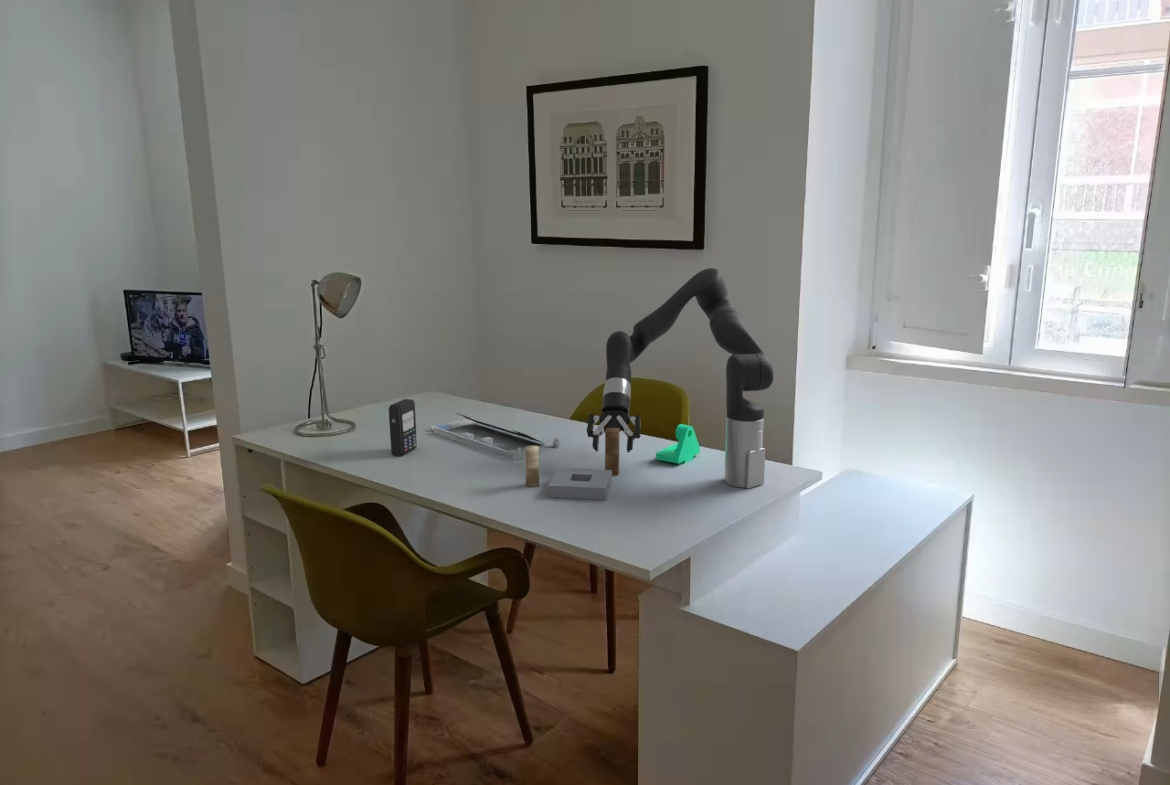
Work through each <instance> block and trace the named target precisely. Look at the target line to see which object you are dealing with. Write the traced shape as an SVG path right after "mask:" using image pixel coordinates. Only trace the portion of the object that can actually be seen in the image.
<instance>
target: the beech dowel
mask: <svg viewBox="0 0 1170 785" xmlns="http://www.w3.org/2000/svg"><path fill="white" fill-rule="evenodd" d="M539 448H540V447H539V446H538V445H534V444H533V445H531V444H530V445H527V446H525V447H524V456H525V457H524V459H525V460H524V461H525V486H526V487H527V486H528V487H529V488H537V487H539V486H540V460H539V457H540V452H539V450H540V449H539Z"/></svg>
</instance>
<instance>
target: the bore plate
mask: <svg viewBox="0 0 1170 785" xmlns="http://www.w3.org/2000/svg"><path fill="white" fill-rule="evenodd" d="M612 482H613V475H612V470H605V469H596V468H594V469H593V468H575V467H574V468H573V467H571V468H570V467H558V468H557V469H556V471H555V473H554V475H553V476H552V479H551V480H550V482H549V483H548V487H547V490H548V491H547V493H548V498H554V497H560V498H561V499H575V500H576V499H579V500H580V499H581V500H600V501H605V500H606V499H607V496H608V494H609V490H610V487H611V485H612ZM560 498H559V499H560Z"/></svg>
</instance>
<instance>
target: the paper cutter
mask: <svg viewBox="0 0 1170 785" xmlns="http://www.w3.org/2000/svg"><path fill="white" fill-rule="evenodd" d="M455 414H456V415H457V416H461V417H463V418H459V419H454V420H450V421H448V422H446V423H445V424H444V423H443V424H439V425H435V426H433V425H429V426H428V427H429V429H431V431H433V432H434V433H435V435H437V436H439V437H444V438H446V439H449V440H453V441H454V440H455V442H457V441H458V443H460V442H461V444H463V443H464V445H466V444H467V445H466V446H469V445H471V446H470V447H472V446H473V447H472V448H475V447H476V448H475V449H478V448H479V449H478V450H481V449H482V451H484V450H485V451H484V452H487V451H488V453H490V452H491V453H490V454H492V453H494V454H493V455H495V454H497V455H496V456H498V455H499V456H498V457H501V456H503V457H502V458H504V457H505V459H507V458H508V459H507V460H510V459H511V461H513V460H514V461H517V460H521V459H520V458H522V459H523V451H522V449H521V446H520V447H518V448H517V450H512V449H511V450H506V449H503V448H501V447H497V446H495V445H494V438H493V437H490V436H486V437H482V438H478V440H476V439H475V434H474V433H471V432H468V431H466V432H465V431H464V432H462V433H461V432H460V433H459V434H458V433H455V432H452V431H450V430H453V429H457V428H461V427H464V426H463V425H466V426H469V425H468V424H470V425H472V424H471V423H475V422H476V423H475V424H479V425H483V426H486V427H490V428H493V429H497V430H499V431H503V432H505V433H509V434H512V435H516V436H519V437H522V438H525V439H528V440H532V441H535V442H538V443H542V444H546V443H545V442H543V441H542V440H541V441H540V440H538V439H537V438H535V437H532V436H530V435H528V434H526V433H523V432H520V431H516V430H514V429H512V430H509V429H506V428H502V427H499V426H496V425H492V424H489V423H486V422H482V421H479V420H476V419H475V418H474V417H470V416H467V415H463V414H460V413H458V412H455ZM460 426H461V427H460ZM456 427H457V428H456ZM452 428H453V429H452ZM447 429H448V430H447ZM471 438H473V439H471ZM553 440H554V441H552V447H553V448H557V449H558V448H561V442H560V439H559V437H557V436H556V437H554V439H553Z"/></svg>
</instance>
